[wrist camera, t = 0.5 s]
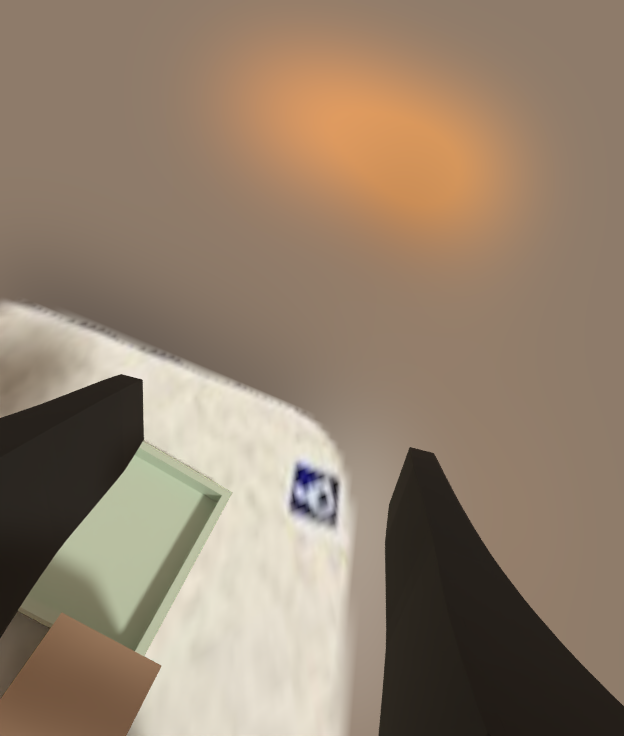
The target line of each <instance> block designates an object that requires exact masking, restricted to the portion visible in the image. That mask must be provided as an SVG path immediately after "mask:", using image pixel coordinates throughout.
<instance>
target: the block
mask: <svg viewBox="0 0 624 736" xmlns="http://www.w3.org/2000/svg"><path fill="white" fill-rule="evenodd" d="M160 668H161V665H159V664H157V663H155V662H154V661H152V660H150V659H148V658H146V657H144V656H142V655H140V654H139V653H137V652H135V651H133V650H131V649H129V648H127V647H125V646H124V645H122V644H120V643H118V642H116V641H114V640H112V639H110V638H109V637H107V636H105V635H103V634H101V633H99V632H97V631H95V630H94V629H92V628H90V627H88V626H86V625H84V624H82V623H81V622H79V621H77V620H75V619H73V618H71V617H69V616H67V615H66V614H64V613H62V612H61V614H60V615H59V617H58V618H57V620H56V621H55V622H54V624H53V625H52V627H51V628H50V629H49V631H48V632H47V634H46V635H45V637H44V638H43V639H42V641H41V642H40V644H39V645H38V646H37V648H36V649H35V651H34V652H33V654H32V655H31V656H30V658H29V659H28V661H27V662H26V663H25V665H24V666H23V668H22V669H21V671H20V672H19V673H18V675H17V676H16V678H15V679H14V680H13V682H12V683H11V685H10V686H9V688H8V689H7V690H6V692H5V693H4V695H3V696H2V698H1V699H0V736H126V735H127V733H128V731H129V729H130V727H131V725H132V723H133V721H134V719H135V717H136V715H137V713H138V711H139V709H140V707H141V705H142V703H143V701H144V699H145V697H146V695H147V693H148V691H149V690H150V688H151V686H152V684H153V682H154V680H155V678H156V676H157V674H158V672H159V670H160Z"/></svg>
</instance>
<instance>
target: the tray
mask: <svg viewBox="0 0 624 736" xmlns="http://www.w3.org/2000/svg"><path fill="white" fill-rule="evenodd" d="M231 494H232V492H231V491H229V490H227V489H225V488H224V487H222V486H220V485H218V484H217V483H215V482H213V481H212V480H210V479H208V478H206V477H205V476H203V475H201V474H199V473H198V472H196V471H194V470H193V469H191V468H189V467H187V466H186V465H184V464H182V463H180V462H179V461H177V460H175V459H174V458H172V457H170V456H168V455H167V454H165V453H163V452H161V451H160V450H158V449H156V448H154V447H153V446H151V445H149V444H148V443H146V442H144V441H143V442H142V444H141V445H140V447H139V449H138V450H137V452H136V454H135V455H134V457H133V458H132V460H131V462H130V463H129V465H128V466H127V468H126V469H125V471H124V472H123V473H122V474H121V476H120V477H119V478H118V479H117V481H116V482H115V483H114V484H113V485H112V487H111V488H110V489H109V490H108V491H107V493H106V494H105V495H104V496H103V497H102V499H101V500H100V501H99V502H98V503H97V505H96V506H95V507H94V508H93V509H92V511H91V512H90V513H89V514H88V515H87V516H86V518H85V519H84V520H83V521H82V522H81V524H80V525H79V526H78V527H77V528H76V529H75V531H74V532H73V533H72V534H71V535H70V537H69V538H68V539H67V540H66V542H65V543H64V544H63V546H62V547H61V548H60V549H59V551H58V552H57V553H56V555H55V556H54V557H53V559H52V560H51V562H50V563H49V565H48V566H47V568H46V569H45V571H44V572H43V573H42V575H41V576H40V578H39V579H38V581H37V582H36V584H35V585H34V587H33V588H32V589H31V591H30V593H29V594H28V596H27V597H26V599H25V600H24V602H23V603H22V605H21V606H20V608H19V609H18V611H19V612H21V613H22V614H24V615H26V616H28V617H30V618H32V619H34V620H36V621H38V622H39V623H41V624H43V625H45V626H47V627H49V628H51V627H52V625H53V624H54V622H55V621H56V620H57V618H58V617H59V615H60V614H61V612H62V613H64V614H66V615H67V616H69V617H71V618H73V619H75V620H77V621H79V622H81V623H82V624H84V625H86V626H88V627H90V628H92V629H94V630H95V631H97V632H99V633H101V634H103V635H105V636H107V637H109V638H110V639H112V640H114V641H116V642H118V643H120V644H122V645H124V646H125V647H127V648H129V649H131V650H133V651H135V652H137V653H139V654H140V655H142V656H145V654H146V652H147V650H148V648H149V646H150V645H151V643H152V641H153V639H154V637H155V635H156V633H157V632H158V630H159V628H160V626H161V624H162V622H163V620H164V619H165V617H166V615H167V613H168V611H169V609H170V607H171V606H172V604H173V602H174V600H175V598H176V596H177V595H178V593H179V591H180V589H181V587H182V585H183V583H184V582H185V580H186V578H187V576H188V574H189V572H190V570H191V569H192V567H193V565H194V563H195V561H196V559H197V557H198V556H199V554H200V552H201V550H202V548H203V546H204V545H205V543H206V541H207V539H208V537H209V535H210V533H211V532H212V530H213V528H214V526H215V524H216V522H217V520H218V519H219V517H220V515H221V513H222V511H223V509H224V507H225V506H226V504H227V502H228V500H229V498H230V496H231Z"/></svg>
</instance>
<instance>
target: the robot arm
mask: <svg viewBox="0 0 624 736" xmlns="http://www.w3.org/2000/svg"><path fill="white" fill-rule="evenodd" d="M143 440H144V428H143V380H142V379H138V378H134V377H130V376H126V375H122V374H121V375H117V376H114V377H111V378H108V379H106V380H103V381H100V382H97V383H95V384H92V385H90V386H87V387H84V388H82V389H79V390H77V391H74V392H72V393H69V394H66V395H64V396H61V397H59V398H56V399H53V400H51V401H48V402H46V403H43V404H40V405H37V406H34V407H31V408H29V409H26V410H23V411H20V412H17V413H14V414H11V415H8V416H5V417H3V418H0V638H1V636H2V634H3V633H4V631H5V630H6V628H7V626H8V625H9V623H10V622H11V620H12V619H13V617H14V616H15V614H16V613H17V611H18V609H19V608H20V606H21V605H22V603H23V602H24V600H25V599H26V597H27V596H28V594H29V593H30V591H31V589H32V588H33V587H34V585H35V584H36V582H37V581H38V579H39V578H40V576H41V575H42V573H43V572H44V571H45V569H46V568H47V566H48V565H49V563H50V562H51V560H52V559H53V557H54V556H55V555H56V553H57V552H58V551H59V549H60V548H61V547H62V546H63V544H64V543H65V542H66V540H67V539H68V538H69V537H70V535H71V534H72V533H73V532H74V531H75V529H76V528H77V527H78V526H79V525H80V524H81V522H82V521H83V520H84V519H85V518H86V516H87V515H88V514H89V513H90V512H91V511H92V509H93V508H94V507H95V506H96V505H97V503H98V502H99V501H100V500H101V499H102V497H103V496H104V495H105V494H106V493H107V491H108V490H109V489H110V488H111V487H112V485H113V484H114V483H115V482H116V481H117V479H118V478H119V477H120V476H121V474H122V473H123V472H124V471H125V469H126V468H127V466H128V465H129V463H130V462H131V460H132V458H133V457H134V455H135V454H136V452H137V450H138V449H139V447H140V445H141V444H142V442H143ZM385 572H386V654H385V667H384V680H383V693H382V704H381V715H380V727H379V736H624V706H623V705H622V704H621V703H620V702H619V701H618V700H617V699H616V698H615V697H614V696H613V695H611V694H610V692H609V691H607V689H606V688H605V687H604V686H603V685H602V684H600V682H599V681H598V680H597V679H596V678H595V677H594V676H593V675H592V674H591V673H590V672H589V671H588V670H587V669H586V668H585V667H584V666H583V665H582V664H581V663H580V662H579V661H578V660H577V659H576V658H575V657H574V656H573V655H572V653H571V652H570V651H569V650H568V649H567V648H566V647H565V646H564V645H563V644H562V643H561V642H560V641H559V639H558V638H557V637H556V636H555V635H554V634H553V633H552V631H551V630H550V629H549V628H548V627H547V626H546V624H545V623H544V622H543V621H542V620H541V619H540V618H539V616H538V615H537V614H536V613H535V612H534V611H533V609H532V608H531V607H530V606H529V605H528V603H527V602H526V601H525V600H524V598H523V597H522V596H521V595H520V593H519V592H518V591H517V589H516V588H515V587H514V585H513V584H512V583H511V581H510V580H509V579H508V578H507V576H506V575H505V573H504V572H503V571H502V569H501V568H500V567H499V565H498V564H497V562H496V561H495V560H494V558H493V557H492V555H491V554H490V552H489V551H488V549H487V548H486V546H485V544H484V543H483V542H482V540H481V538H480V537H479V535H478V533H477V532H476V530H475V529H474V527H473V525H472V524H471V522H470V520H469V518H468V517H467V515H466V513H465V511H464V510H463V508H462V506H461V505H460V503H459V501H458V499H457V497H456V495H455V494H454V491H453V490H452V488H451V486H450V484H449V482H448V480H447V478H446V476H445V474H444V472H443V470H442V468H441V466H440V464H439V462H438V460H437V458H436V456H435V455H434V453H431V452H427V451H423V450H419V449H415V448H411V447H410V448H409V451H408V453H407V456H406V459H405V462H404V465H403V467H402V470H401V473H400V476H399V479H398V482H397V484H396V487H395V490H394V493H393V496H392V498H391V501H390V504H389V511H388V520H387V528H386V539H385Z"/></svg>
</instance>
